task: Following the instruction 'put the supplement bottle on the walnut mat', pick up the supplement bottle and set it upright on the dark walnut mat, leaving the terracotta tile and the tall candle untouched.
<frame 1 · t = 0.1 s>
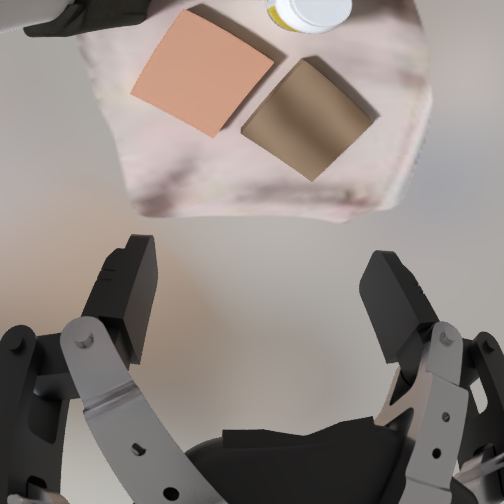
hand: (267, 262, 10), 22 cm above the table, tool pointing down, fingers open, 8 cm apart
walnut mat: (306, 120, 28), on the table
terracotta tile: (200, 72, 23), on the table
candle: (128, 1, 17), on the table
supplement bottle: (294, 7, 19), on the table
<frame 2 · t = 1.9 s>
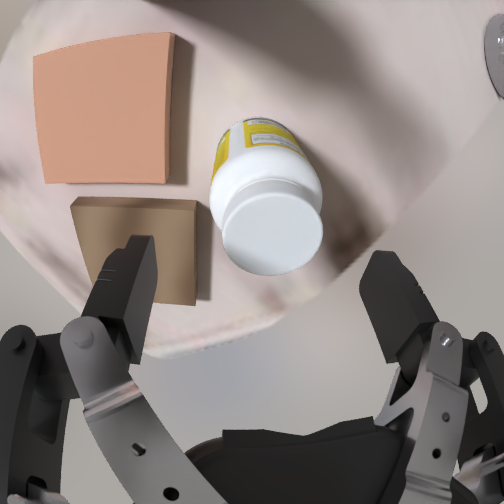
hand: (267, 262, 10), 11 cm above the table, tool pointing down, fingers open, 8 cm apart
walnut mat: (139, 249, 23), on the table
terracotta tile: (101, 109, 16), on the table
supplement bottle: (257, 152, 19), on the table
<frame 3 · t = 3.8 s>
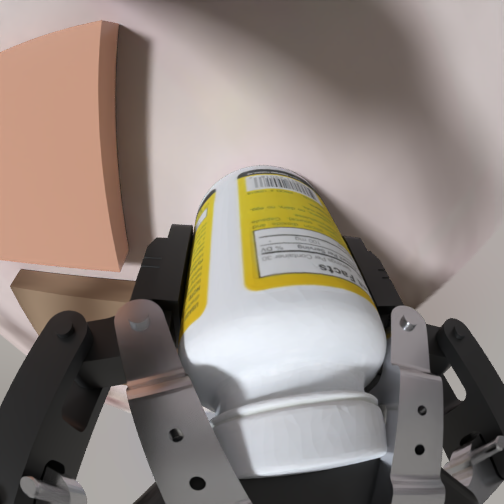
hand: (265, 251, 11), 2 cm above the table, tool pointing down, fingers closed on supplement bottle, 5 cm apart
walnut mat: (106, 331, 17), on the table
terracotta tile: (23, 156, 9), on the table
supplement bottle: (261, 218, 12), on the table, touching gripper
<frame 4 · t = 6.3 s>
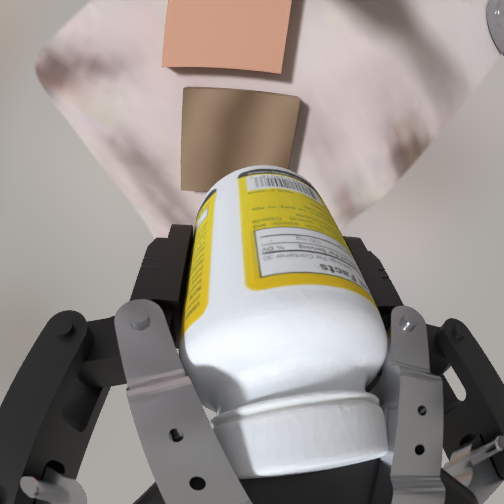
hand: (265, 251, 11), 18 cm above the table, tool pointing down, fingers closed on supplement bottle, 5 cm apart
walnut mat: (236, 140, 26), on the table
terracotta tile: (227, 16, 18), on the table
supplement bottle: (261, 218, 12), point 16 cm above the table, touching gripper
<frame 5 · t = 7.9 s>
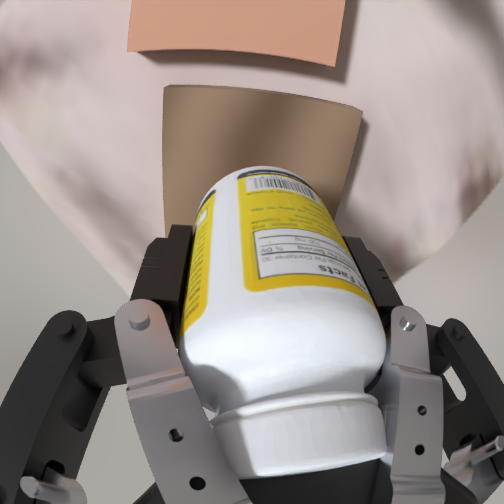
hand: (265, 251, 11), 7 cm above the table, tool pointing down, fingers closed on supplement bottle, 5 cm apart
walnut mat: (253, 173, 16), on the table
supplement bottle: (261, 219, 12), point 5 cm above the table, touching gripper
when the fingers open (4 cm above the table, at t = 9.3 s): supplement bottle stays where it is, resting on walnut mat.
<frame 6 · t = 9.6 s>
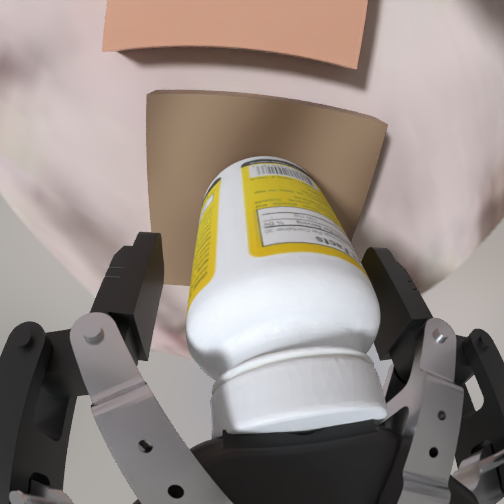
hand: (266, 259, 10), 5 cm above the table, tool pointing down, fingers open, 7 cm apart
walnut mat: (256, 195, 14), on the table
supplement bottle: (262, 207, 13), point 1 cm above the table, touching walnut mat
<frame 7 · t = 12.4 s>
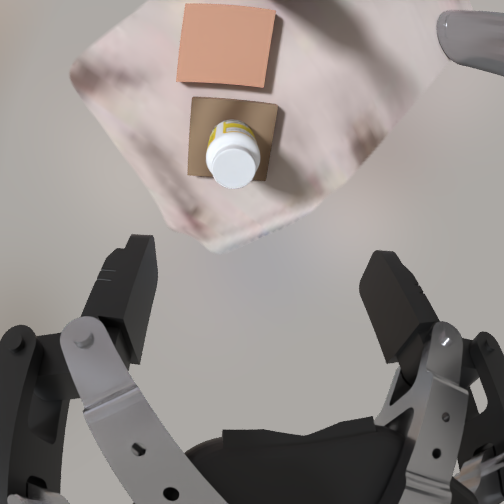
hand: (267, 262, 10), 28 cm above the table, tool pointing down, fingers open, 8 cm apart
walnut mat: (230, 137, 34), on the table
terracotta tile: (225, 44, 26), on the table
supplement bottle: (232, 139, 33), point 1 cm above the table, touching walnut mat
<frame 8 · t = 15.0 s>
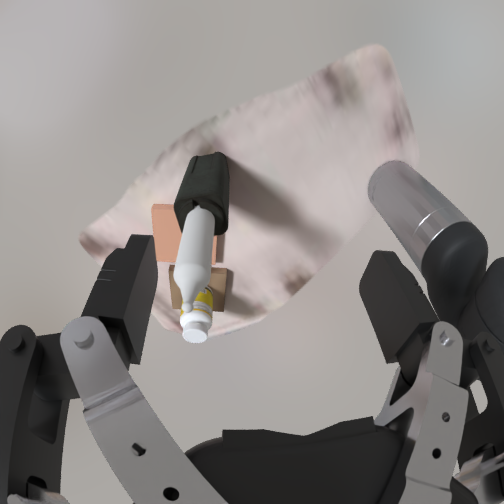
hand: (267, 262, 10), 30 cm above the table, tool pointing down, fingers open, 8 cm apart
walnut mat: (198, 286, 53), on the table
terracotta tile: (185, 232, 45), on the table
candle: (209, 169, 39), on the table
supplement bottle: (198, 291, 52), point 1 cm above the table, touching walnut mat
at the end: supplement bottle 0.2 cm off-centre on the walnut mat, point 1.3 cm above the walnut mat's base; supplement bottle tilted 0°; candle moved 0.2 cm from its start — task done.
